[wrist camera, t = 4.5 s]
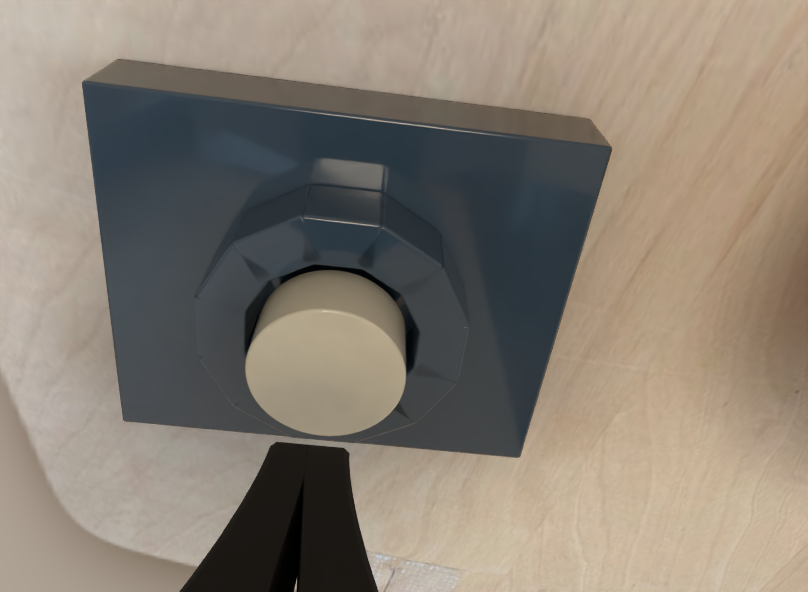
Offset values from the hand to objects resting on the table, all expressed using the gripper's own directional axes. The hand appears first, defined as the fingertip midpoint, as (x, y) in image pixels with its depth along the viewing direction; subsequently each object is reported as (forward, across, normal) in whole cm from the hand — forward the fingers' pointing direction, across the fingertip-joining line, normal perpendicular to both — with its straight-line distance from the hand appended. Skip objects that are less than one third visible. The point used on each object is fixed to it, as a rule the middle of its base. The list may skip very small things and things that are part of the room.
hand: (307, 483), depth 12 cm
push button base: (+8, 0, 0) cm, 8 cm away
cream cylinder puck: (+5, 0, 0) cm, 5 cm away
